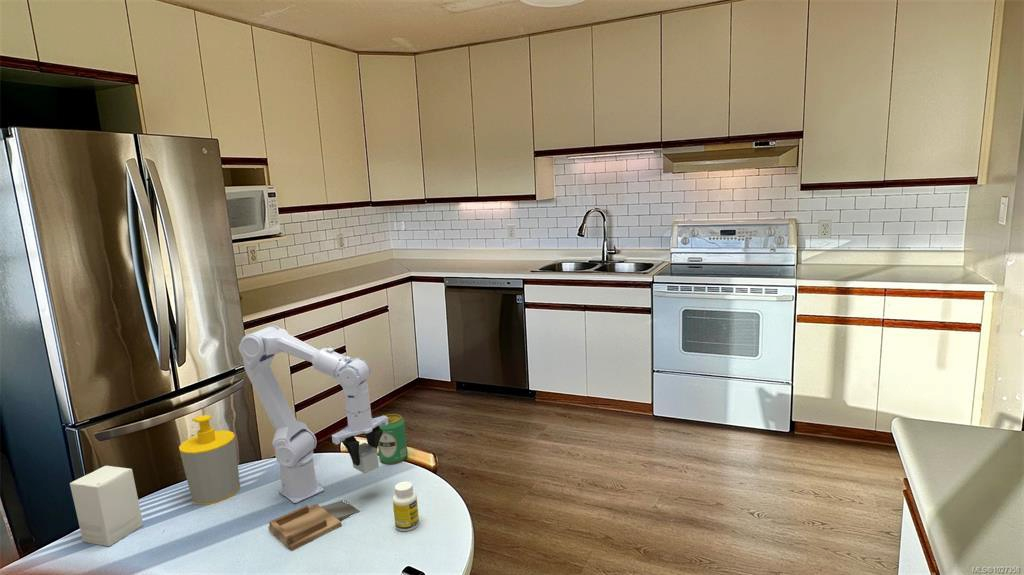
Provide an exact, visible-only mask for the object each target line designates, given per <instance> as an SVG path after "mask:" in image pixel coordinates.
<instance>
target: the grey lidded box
mask: <svg viewBox="0 0 1024 575" xmlns="http://www.w3.org/2000/svg"><path fill="white" fill-rule="evenodd" d="M359 459H360V465H358V466H357V465H355V464H353V463H352V467H353V468H354V469H356V470H357V471H359V472H361V473H363V474H365V475H366V474H367V473H368V474H369V473H370V472H373V471H374V470H377V469H378V468H380V464H379V455H378V448H375V447H373V446H371V445H369V444H368V442H367V443H366V442H362V443H359Z"/></svg>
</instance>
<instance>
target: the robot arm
mask: <svg viewBox="0 0 1024 575" xmlns="http://www.w3.org/2000/svg"><path fill="white" fill-rule="evenodd" d="M237 350H238V351H239V353H240V355H241V356H240V357H242V359H243V360H242V361H243V368H244V371H245V373H246V375H247V378H248V379H249V381H250V383H251V385H252V386H253V389H254V391H255V393H256V396H257V397H258V399H259V401H260V403H261V405H262V407H263V409H264V411H265V413H266V414H267V417H268V418H269V419H268V420H269V421H270V423H271V425H272V427H273V429H274V431H275V433H274V435H273V439H272V442H271V443H272V446H273V448H274V456H275V457H274V458H275V460H276V461H277V463H278V464H279V474H280V481H281V488H279V490H278V492H279V493H280V494H281V495H283V496H284V497H285V498H287V499H288V500H289V501H290V502H291V503H293V504H297V503H300V502H301V501H303V500H306V499H308V498H311V497H312V496H315V495H317V494H320V493H322V492H323V491H324V488H323V487H322V486H320V485H319V484H317V477H316V470H315V463H314V456H313V455H314V449H316V447H317V437H316V436H315V434H314V433H313V432H312V431H311V429H310V428H308V426H307V424H306V423H305V422H302V421H299V420H297V418H296V417H295V414H294V413H293V411H292V408H291V406H290V405H289V402H288V400H287V398H286V397H285V394H284V392H283V390H282V389H281V388H282V387H281V386H280V385H279V382H278V380H277V378H276V376H275V374H274V372H273V370H272V368H271V364H272V361H273V359H274V356H275V355H276V354H281V353H285V354H288V355H290V356H293V357H296V358H299V359H300V360H304V361H306V362H310V363H312V367H313V369H314V370H316V371H318V372H320V373H322V374H325V375H326V376H329V377H331V378H334V379H335V380H337V382H338V384H339V385H340V386H341V387H342V392H343V393H344V394H343V395H344V402H345V410H346V417H347V426H345V427H344V428H343V429H341V430H340V431H337V432H336V433H333V434H332V435H331V439H332V440H331V441H332V443H333V444H335V445H339V444H342V445H343V446H344V447H345V449H346V450H347V451H348V452H347V453H348V454H349V457H350V459H351V462H352V465H353V464H355V465H357V466H358V465H360V459H359V445H360V441H359V440H357V438H356V436H360V435H361V434H364V435H365V438H366V441H367V444H369V445H371V446H373V447H375V448H377V449H378V444H379V441H380V438H381V436H382V434H383V430H382V429H380V426H382V425H388V417H386V416H384V415H383V414H382V415H381V416H377V417H374V418H373V416H372V409H371V401H370V399H371V398H370V392H369V385H368V384H369V383H368V378H369V377H370V374H371V367H370V364H369V363H368V362H367V360H364V359H363V358H362V357H355V358H351V356H349V355H346V356H345V355H343V354H341V353H338V352H336V351H335V349H334V348H333V347H328V348H327V347H322V348H321V349H318V348H315V347H314V346H312V345H311V344H308V343H306V342H304V341H303V340H300V339H299V338H297V337H295V336H293V335H291V334H290V333H288V331H287V330H286V329H284V328H281V327H279V326H277V325H273V324H272V325H268V326H266V327H265V328H262V329H259V330H257V331H254V332H252V333H248V334H245V335H244V336H243V337H242V339H241V341H240V343H239V345H238V348H237Z"/></svg>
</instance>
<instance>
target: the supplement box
mask: <svg viewBox="0 0 1024 575" xmlns="http://www.w3.org/2000/svg"><path fill="white" fill-rule="evenodd" d="M69 486H70V491H71V495H72V496H71V497H72V499H73V503H74V507H75V512H76V517H77V521H78V525H79V530H80V535H81V538H82V542H84V543H88V544H95V545H100V546H103V547H104V546H105V547H110V546H112V545H115V543H117V542H118V541H120V540H122V539H124V538H125V537H126V536H128V535H131V534H132V533H133V532H134V531H137V530H138V529H140V528H141V527H143V526H144V522H143V518H142V513H141V511H142V510H141V507H140V506H141V505H140V503H139V497H138V496H139V495H138V492H137V487H136V483H135V478H134V472H133V469H132V468H127V467H120V466H111V465H104V466H102V467H100V468H97V469H96V470H94V471H92V472H90V473H87V474H85V475H84V476H81V477H79V478H77V479H75V480H73V481H72V482H69Z"/></svg>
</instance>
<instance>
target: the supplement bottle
mask: <svg viewBox="0 0 1024 575" xmlns="http://www.w3.org/2000/svg"><path fill="white" fill-rule="evenodd" d="M392 505H393V506H392V508H393V516H394V525H395V528H396V529H397V530H398V531H400V532H409V531H413V530H415V529H416V528H417V527H418V526H419V524H420V518H419V508H418V495H417V493H416V492H415V491H414V486H413V483H412V482H411V481H401V482H398V483H397V484H395V486H394V495H393V497H392Z"/></svg>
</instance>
